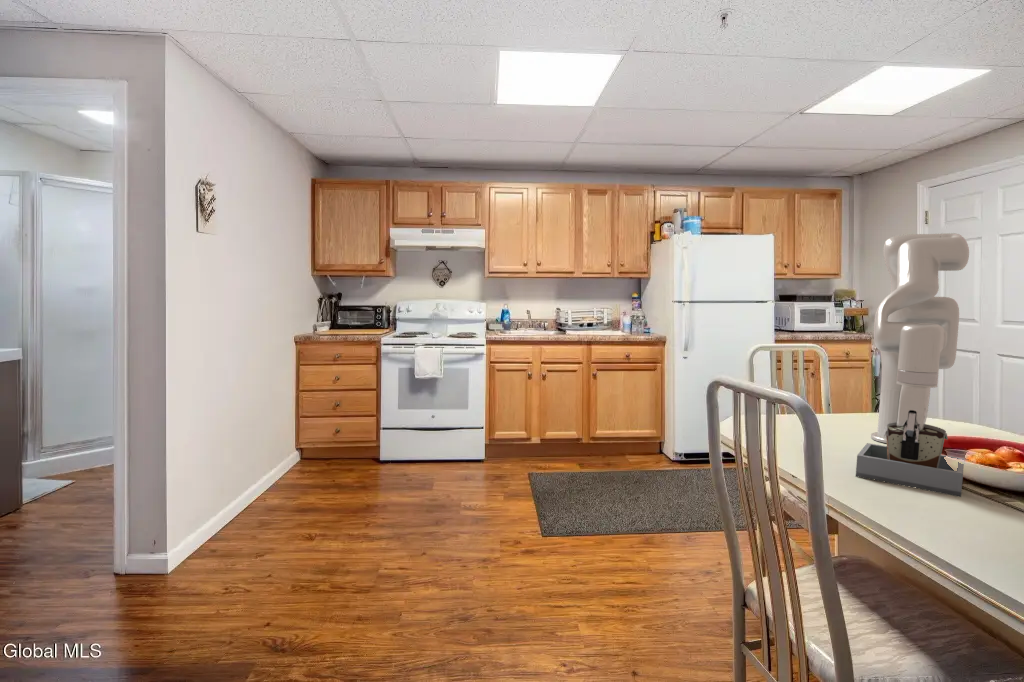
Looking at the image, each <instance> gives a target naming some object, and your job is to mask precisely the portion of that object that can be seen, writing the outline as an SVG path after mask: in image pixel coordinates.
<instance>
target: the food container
mask: <svg viewBox="0 0 1024 682" xmlns="http://www.w3.org/2000/svg"><path fill="white" fill-rule="evenodd" d="M904 426H905V424H904V425H903V426H901V427H900V428H899V427H897V422H893V423H889V424H887V425H886V427H885V429H884V432H883V435H884V436H885V435H886V438H887V443H886V446H887V458H888V460H893V461H899V462H905V463H910V464H916V465H922V466H928V467H934V468H938V466H939V462H940V457H941V455H942V452H943V447H944V443H945V440H947V441H948V439H949V438H948V433H947V431H946V429H943V428H941V427H938V426H935V425H931V424H926V423H925V426H924V428H923V429H922V430H920V431H919V438H918V443H919V455H918V460H911V459H905V458H901V445H902V440H903V434H904ZM914 428H916V429H917V427H914ZM915 433H916V432H915Z"/></svg>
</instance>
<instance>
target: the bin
mask: <svg viewBox="0 0 1024 682" xmlns="http://www.w3.org/2000/svg"><path fill="white" fill-rule="evenodd" d="M946 456H948V457H951V458H957V459H962V460H964V461H965V458H962V457H957V456H950V455H943V454H941V457H940V462H939V466H938V468H934V467H928V466H922V465H916V464H910V463H905V462H899V461H893V460H888V458H887V445H881V444H875V443H869V442H867V443H865V445H864V446H863V448H862V449H861V450H860V451H859V452H858V454H857V455H856V467H855V477H856V476H859V478H862V477H864V478H863V479H867V478H870V479H869V480H872V479H875V480H874V481H877V480H879V481H878V482H882V481H885V482H884V483H887V482H889V483H888V484H892V483H894V484H893V485H897V484H899V485H898V486H902V485H905V486H904V487H908V486H910V487H909V488H913V487H916V488H915V489H918V488H920V489H919V490H923V489H926V490H925V491H928V490H930V491H929V492H933V491H934V492H935V493H939V494H944V495H950V496H954V497H960V498H962V492H963V491H962V490H963V489H962V487H963V478H964V465H965V463H964V464H961V463H959V462H958V468H957V471H954V470H953V469H952V468H951V467H950V466H949V465H948V464H947V462H946V460H945V459H944V457H946Z"/></svg>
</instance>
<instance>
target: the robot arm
mask: <svg viewBox="0 0 1024 682" xmlns="http://www.w3.org/2000/svg"><path fill="white" fill-rule="evenodd" d="M969 248H970V247H969V244H968V242H967V240H966V238H965V237H964V236H963V235H961V234H959V233H954V232H953V233H952V232H951V233H950V232H949V233H943V232H942V233H919V234H918V233H915V234H913V233H912V234H902V235H901V234H899V235H894V236H892V237H889V238H887V239H886V240H885V241H884V244H883V259H884V263H885V265H886V268H887V271H888V274H889V276H890V293H889V294H887V296H885V297H884V298H883V299H882V301H881V302H880V304H879V305H878V307H877V309H876V311H875V315H874V325H873V326H874V327H873V343H874V346H875V348H876V349H877V350H878V351H880V362H881V382H880V395H879V409H878V423H877V432H872V433H871V434H870V438H871V439H872V440H874V441H877V442H879V443H884V444H887V438H886V435H885V436H884V435H883V432H884V429H885V427H886V425H887V424H889V423H893V422H897V427H899V428H900V427H901V426H903V425H904V424H905V426H904V434H903V440H902V445H901V458H905V459H911V460H918V455H919V443H918V438H919V431H920V430H922V429H923V428H924V426H925V424H926V422H927V417H928V413H929V412H928V411H929V404H930V395H931V388H933V389H934V388H938V382H939V371H940V370H947V369H950V368H952V367H953V366H954V365H955V361H956V358H957V350H958V349H957V348H958V337H959V325H960V307H959V304H958V302H957V301H956V300H955V299H954V298H953V297H947V296H936V295H937V294H938V292H939V290H940V289H939V287H940V286H939V285H940V284H939V271H940V272H951V271H952V272H956V271H957V272H958V271H961V270H963V269H965V267H966V266H967V265H968V262H969V258H970V249H969ZM914 427H917V429H916V428H914ZM915 432H916V433H915Z"/></svg>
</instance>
